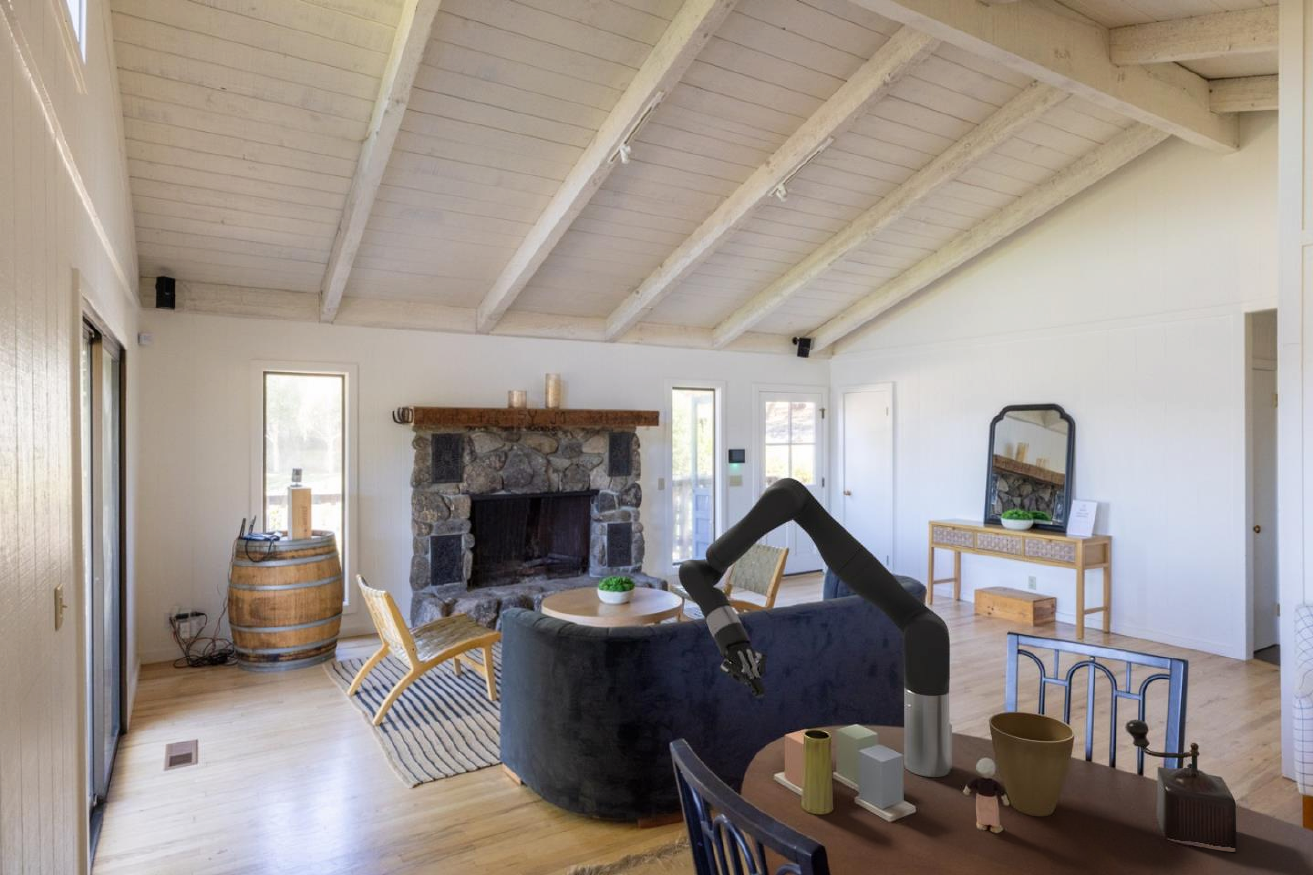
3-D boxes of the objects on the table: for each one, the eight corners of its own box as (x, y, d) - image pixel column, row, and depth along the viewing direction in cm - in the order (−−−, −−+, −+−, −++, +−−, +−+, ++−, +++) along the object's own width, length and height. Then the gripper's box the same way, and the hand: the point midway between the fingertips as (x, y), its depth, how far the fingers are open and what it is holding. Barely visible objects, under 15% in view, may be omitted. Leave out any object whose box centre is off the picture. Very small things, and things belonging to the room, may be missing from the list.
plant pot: (997, 782, 157) (997, 705, 157) (1079, 802, 148) (1079, 721, 148) (981, 812, 144) (981, 728, 144) (1069, 835, 136) (1069, 747, 136)
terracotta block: (806, 771, 159) (806, 728, 159) (826, 782, 154) (826, 738, 154) (784, 778, 156) (784, 734, 156) (804, 789, 151) (804, 744, 151)
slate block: (879, 788, 151) (879, 744, 151) (903, 801, 146) (903, 754, 146) (858, 796, 148) (858, 750, 148) (882, 809, 143) (881, 761, 143)
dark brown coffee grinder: (1221, 824, 140) (1221, 727, 140) (1238, 855, 130) (1238, 750, 130) (1123, 807, 146) (1123, 714, 146) (1132, 834, 136) (1132, 735, 136)
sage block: (856, 765, 162) (856, 723, 162) (878, 776, 157) (878, 733, 157) (836, 772, 159) (836, 729, 159) (857, 783, 154) (857, 739, 154)
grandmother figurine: (1007, 825, 139) (1007, 757, 139) (1010, 835, 136) (1009, 765, 136) (962, 818, 142) (962, 751, 142) (964, 828, 138) (963, 759, 138)
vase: (833, 816, 143) (833, 741, 143) (800, 813, 144) (800, 738, 144) (832, 801, 149) (832, 729, 149) (801, 798, 150) (801, 726, 150)
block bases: (836, 759, 168) (836, 755, 168) (929, 806, 147) (929, 801, 147) (773, 779, 158) (773, 774, 158) (863, 832, 137) (863, 826, 137)
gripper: (710, 625, 174) (744, 693, 163) (755, 617, 181) (791, 682, 170) (698, 643, 178) (730, 710, 168) (742, 634, 185) (776, 698, 175)
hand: (761, 696), depth 169 cm, fingers closed
